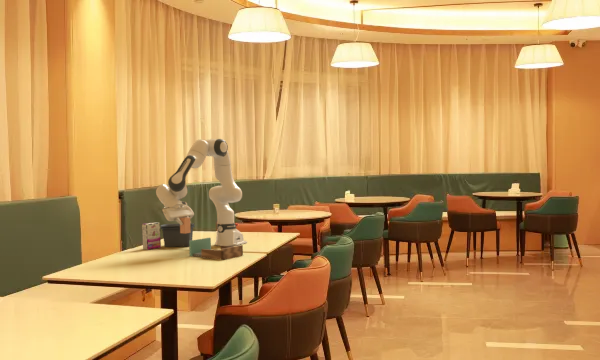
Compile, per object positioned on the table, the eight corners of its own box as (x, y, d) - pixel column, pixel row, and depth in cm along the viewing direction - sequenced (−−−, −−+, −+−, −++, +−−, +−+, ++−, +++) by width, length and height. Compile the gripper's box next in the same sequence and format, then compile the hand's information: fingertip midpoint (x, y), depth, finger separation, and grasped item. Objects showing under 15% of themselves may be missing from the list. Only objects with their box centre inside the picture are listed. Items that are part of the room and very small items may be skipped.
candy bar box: (156, 247, 423) (155, 222, 423) (161, 247, 420) (160, 222, 420) (142, 249, 414) (141, 223, 414) (147, 250, 411) (146, 224, 411)
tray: (209, 252, 394) (208, 237, 394) (229, 254, 385) (229, 239, 385) (189, 256, 380) (189, 240, 380) (210, 258, 371) (210, 242, 371)
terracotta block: (185, 232, 387) (185, 217, 386) (190, 232, 384) (190, 217, 384) (180, 233, 383) (179, 218, 383) (185, 233, 381) (184, 218, 380)
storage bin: (159, 247, 422) (158, 225, 422) (166, 244, 437) (165, 223, 437) (191, 247, 420) (190, 225, 419) (197, 244, 435) (196, 222, 435)
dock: (222, 253, 389) (221, 243, 389) (242, 255, 380) (242, 245, 380) (201, 257, 374) (201, 247, 374) (222, 259, 365) (222, 249, 365)
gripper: (163, 204, 378) (175, 222, 373) (188, 201, 395) (200, 218, 390) (158, 212, 381) (170, 229, 376) (183, 209, 398) (195, 225, 393)
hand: (186, 223), depth 383 cm, fingers closed on terracotta block, 4 cm apart
